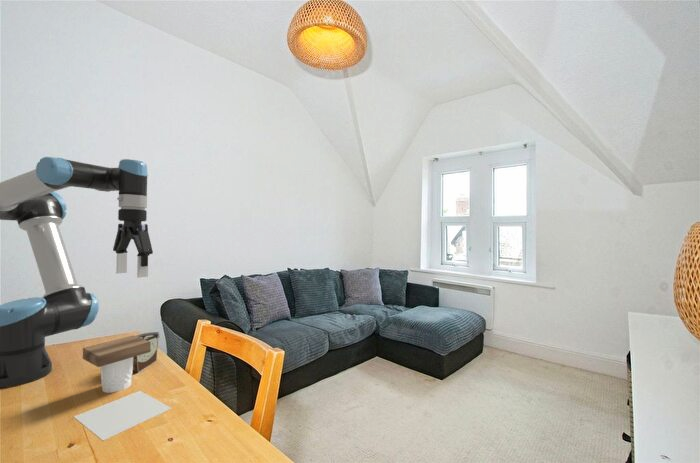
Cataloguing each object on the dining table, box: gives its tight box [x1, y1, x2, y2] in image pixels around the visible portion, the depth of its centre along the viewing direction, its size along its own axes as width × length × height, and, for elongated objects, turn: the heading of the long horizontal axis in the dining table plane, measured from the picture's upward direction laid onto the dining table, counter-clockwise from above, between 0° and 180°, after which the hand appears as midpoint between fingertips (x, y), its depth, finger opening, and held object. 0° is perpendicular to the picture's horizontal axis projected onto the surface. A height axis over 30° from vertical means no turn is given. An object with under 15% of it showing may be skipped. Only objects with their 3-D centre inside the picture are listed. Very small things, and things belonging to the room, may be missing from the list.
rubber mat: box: [73, 390, 173, 441], centre depth 80 cm, size 16×15×1 cm
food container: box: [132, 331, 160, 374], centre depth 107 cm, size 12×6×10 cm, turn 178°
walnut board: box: [82, 335, 151, 368], centre depth 92 cm, size 10×13×3 cm
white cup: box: [100, 357, 134, 394], centre depth 92 cm, size 8×8×10 cm
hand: (131, 275), depth 102 cm, fingers open, 13 cm apart
